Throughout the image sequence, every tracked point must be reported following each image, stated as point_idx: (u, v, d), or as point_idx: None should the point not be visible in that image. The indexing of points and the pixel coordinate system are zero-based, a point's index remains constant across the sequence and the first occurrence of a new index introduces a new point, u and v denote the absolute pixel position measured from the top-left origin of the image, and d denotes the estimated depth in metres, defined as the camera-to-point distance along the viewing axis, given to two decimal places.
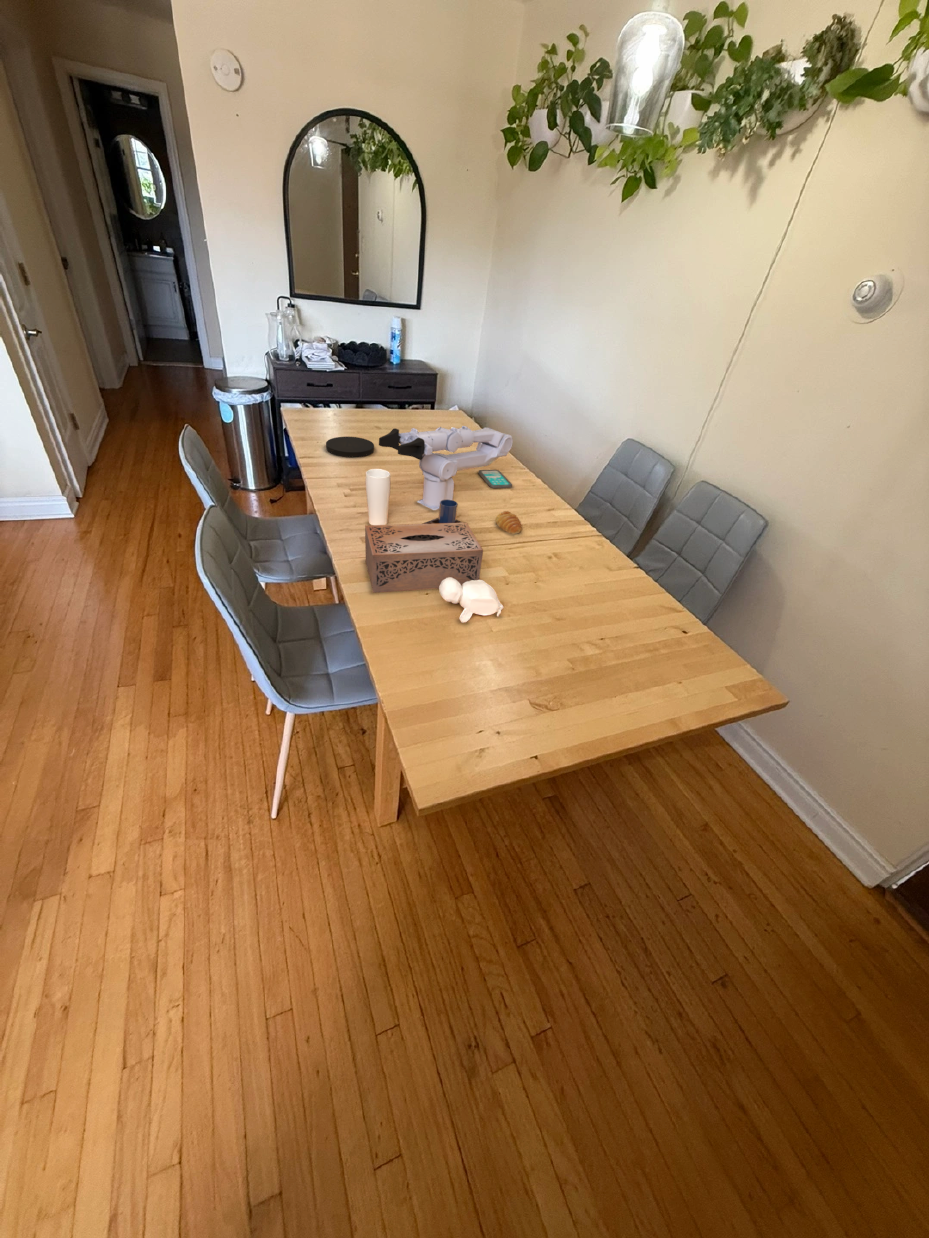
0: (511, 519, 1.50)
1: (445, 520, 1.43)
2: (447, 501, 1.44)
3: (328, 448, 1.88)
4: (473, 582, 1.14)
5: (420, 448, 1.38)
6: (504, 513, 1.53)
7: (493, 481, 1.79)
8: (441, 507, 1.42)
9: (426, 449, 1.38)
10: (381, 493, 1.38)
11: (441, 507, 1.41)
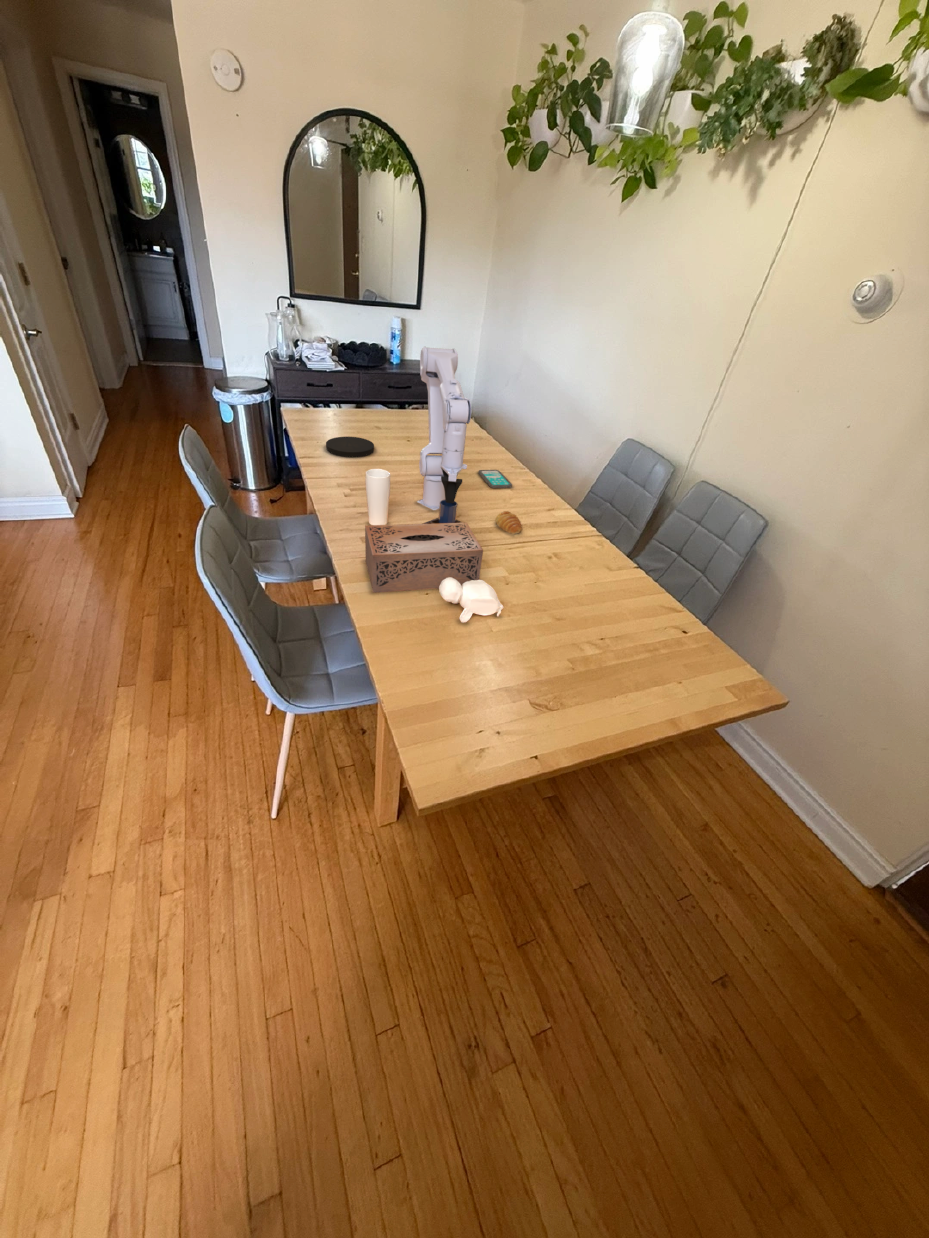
0: (511, 519, 1.50)
1: (445, 520, 1.43)
2: None
3: (328, 448, 1.88)
4: (473, 581, 1.14)
5: None
6: (504, 513, 1.53)
7: (493, 481, 1.79)
8: (441, 507, 1.42)
9: None
10: (381, 493, 1.38)
11: (441, 507, 1.41)
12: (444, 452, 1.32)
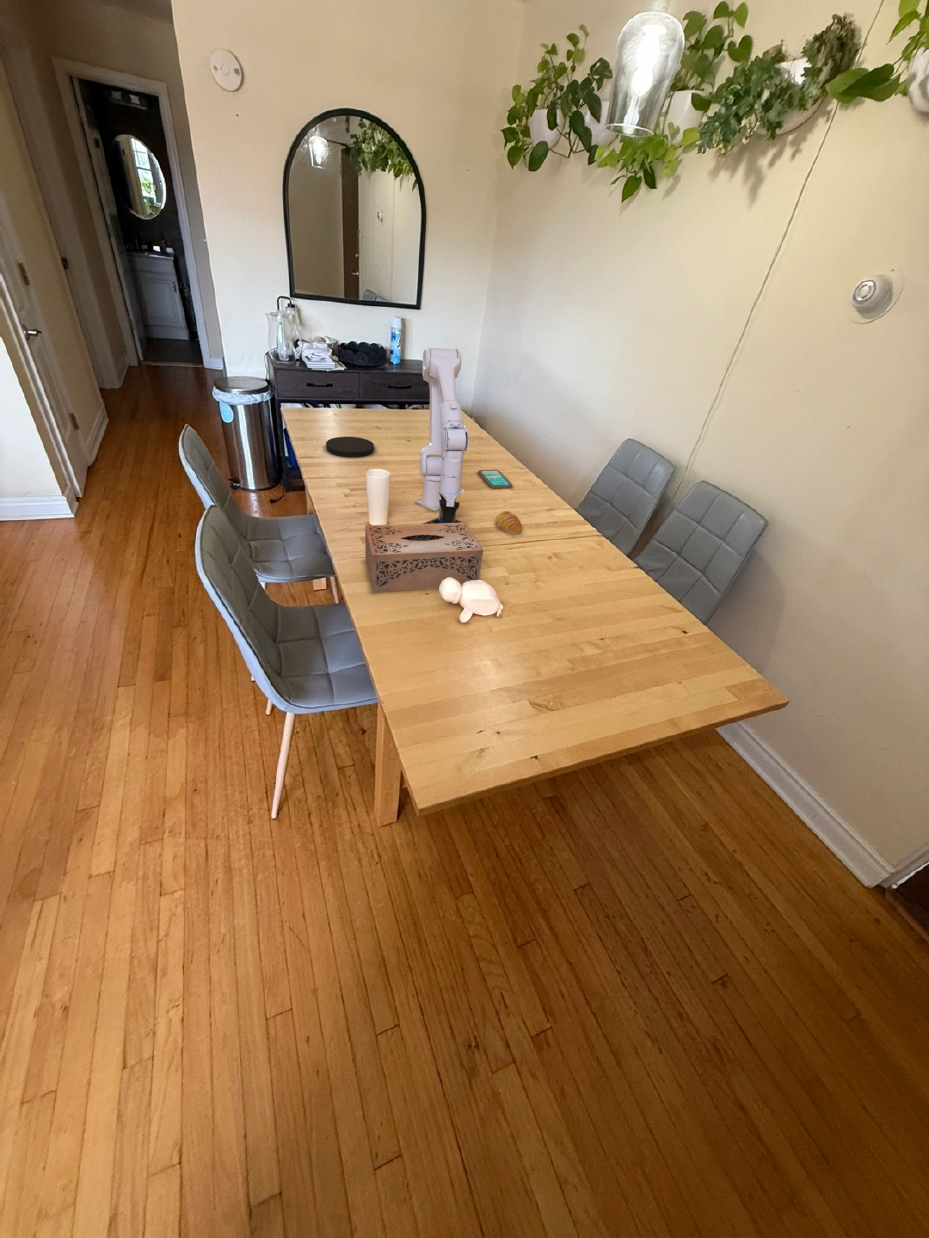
0: (511, 519, 1.50)
1: None
2: None
3: (328, 448, 1.88)
4: (473, 582, 1.14)
5: None
6: (504, 513, 1.53)
7: (493, 481, 1.79)
8: None
9: None
10: (381, 493, 1.38)
11: None
12: (442, 478, 1.36)
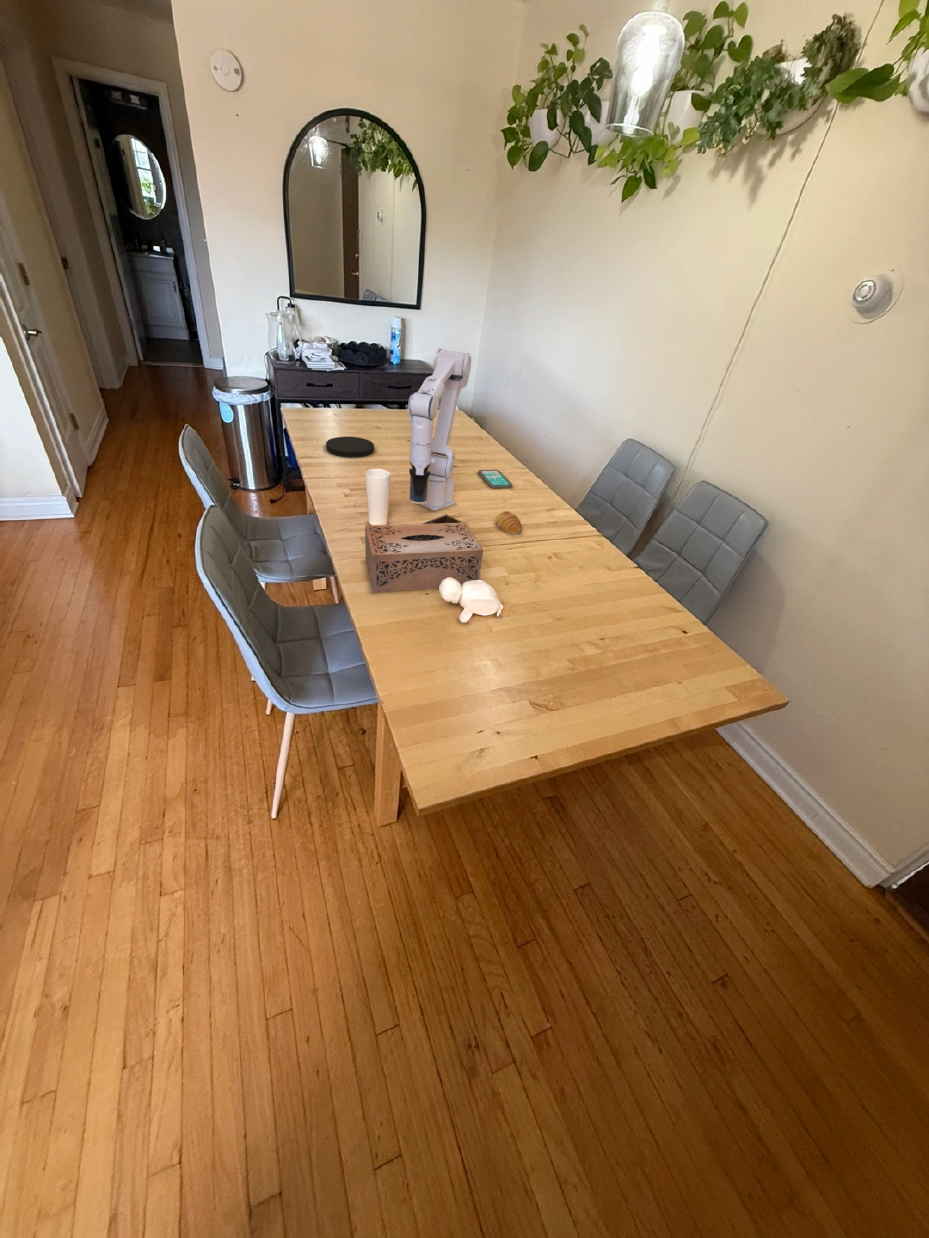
0: (511, 519, 1.50)
1: None
2: None
3: (328, 448, 1.88)
4: (473, 582, 1.14)
5: None
6: (504, 513, 1.53)
7: (493, 481, 1.79)
8: None
9: None
10: (381, 493, 1.38)
11: None
12: (412, 446, 1.34)
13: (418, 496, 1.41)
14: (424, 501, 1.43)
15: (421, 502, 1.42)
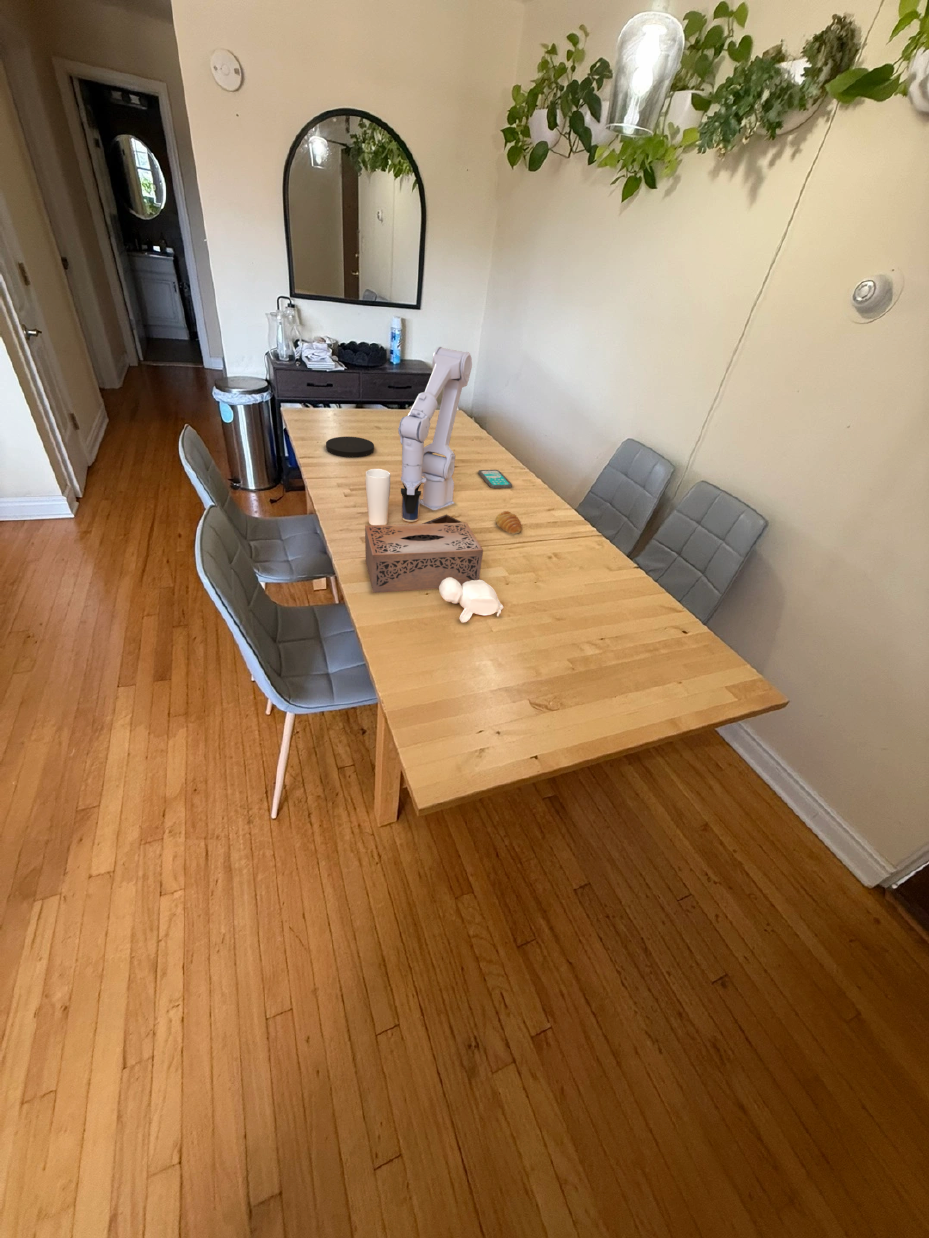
0: (511, 519, 1.50)
1: None
2: None
3: (328, 448, 1.88)
4: (473, 582, 1.14)
5: None
6: (504, 513, 1.53)
7: (493, 481, 1.79)
8: None
9: None
10: (381, 493, 1.38)
11: None
12: (403, 467, 1.38)
13: (410, 514, 1.45)
14: (415, 519, 1.47)
15: (413, 520, 1.46)
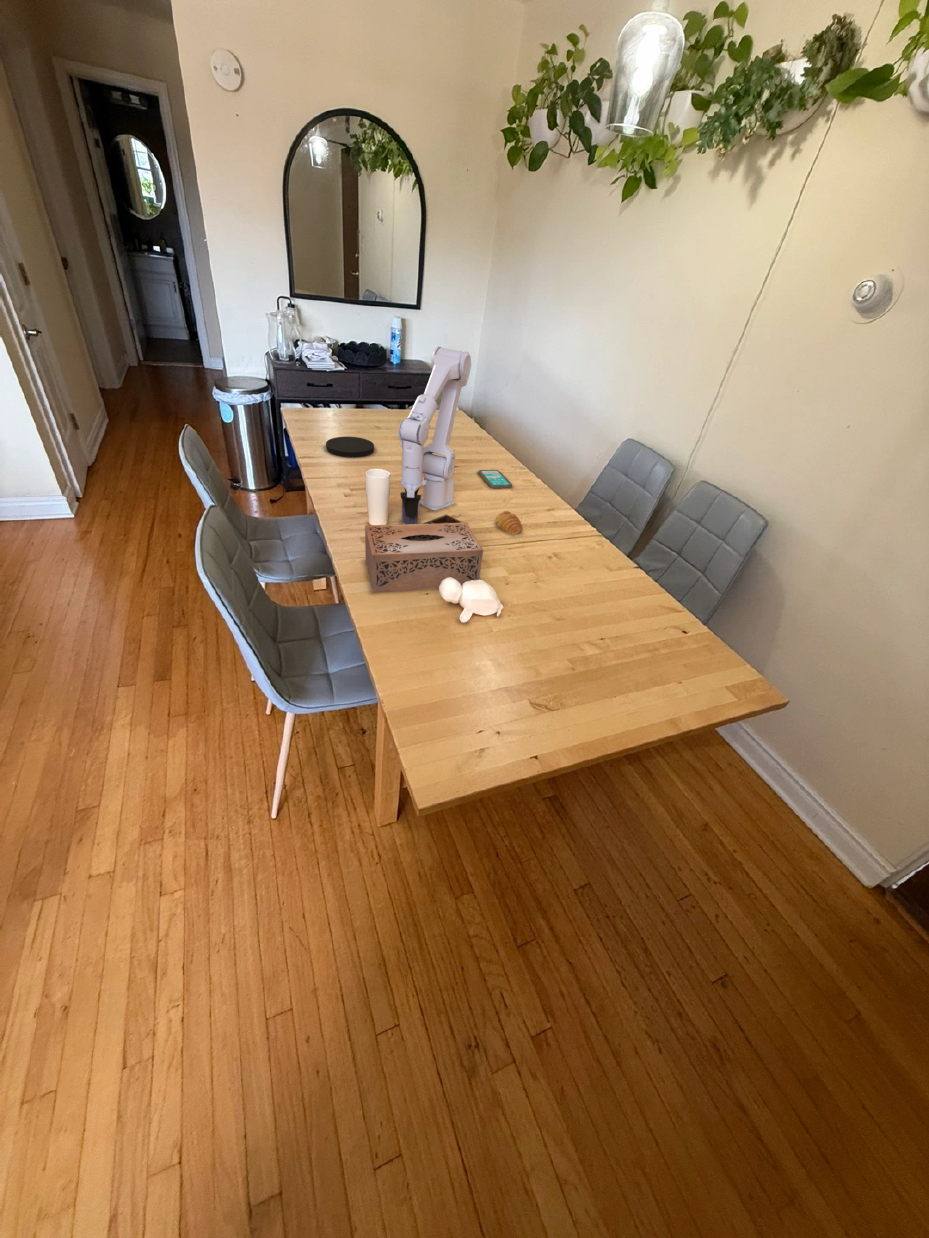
0: (511, 519, 1.50)
1: None
2: None
3: (328, 448, 1.88)
4: (473, 581, 1.14)
5: None
6: (504, 513, 1.53)
7: (493, 481, 1.79)
8: None
9: None
10: (381, 493, 1.38)
11: None
12: (403, 469, 1.38)
13: (409, 519, 1.46)
14: (415, 523, 1.48)
15: None
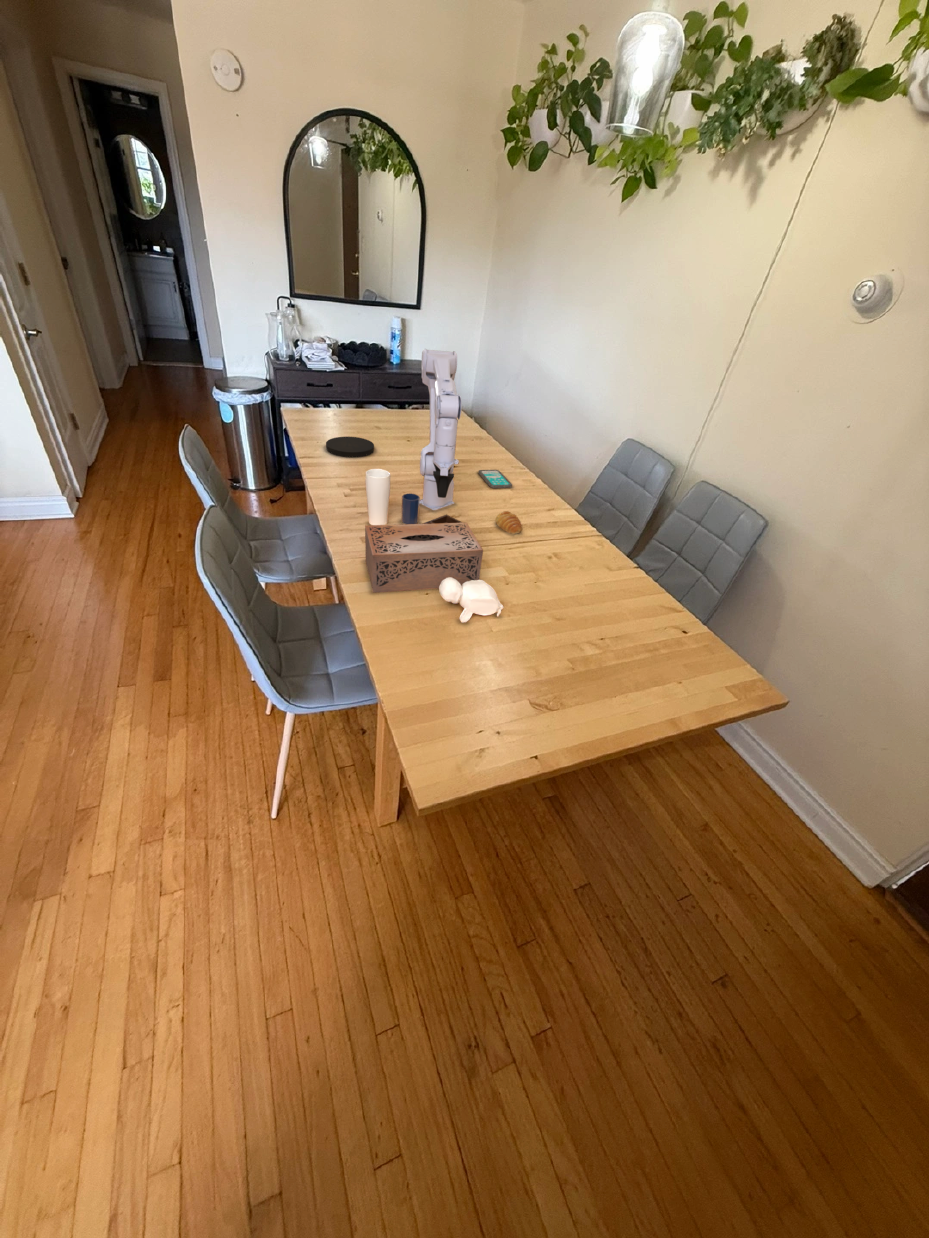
0: (511, 519, 1.50)
1: (407, 514, 1.45)
2: (410, 495, 1.46)
3: (328, 448, 1.88)
4: (473, 581, 1.14)
5: None
6: (504, 513, 1.53)
7: (493, 481, 1.79)
8: (403, 501, 1.44)
9: None
10: (381, 493, 1.38)
11: (403, 500, 1.43)
12: (436, 447, 1.35)
13: (409, 519, 1.46)
14: (415, 523, 1.48)
15: None
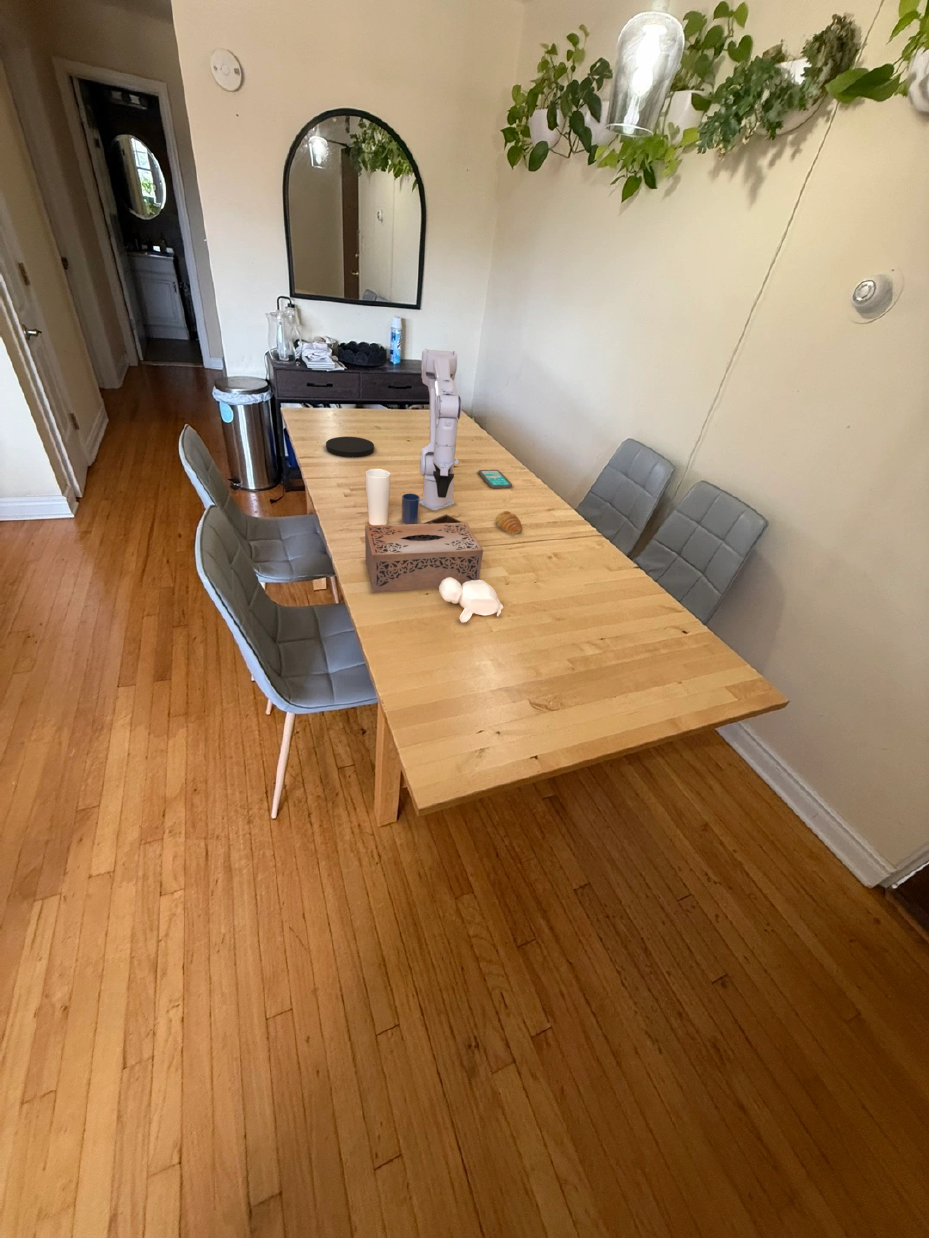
0: (511, 519, 1.50)
1: (407, 514, 1.45)
2: (410, 495, 1.46)
3: (328, 448, 1.88)
4: (473, 581, 1.14)
5: None
6: (504, 513, 1.53)
7: (493, 481, 1.79)
8: (403, 501, 1.44)
9: None
10: (381, 493, 1.38)
11: (403, 500, 1.43)
12: (436, 447, 1.35)
13: (409, 519, 1.46)
14: (415, 523, 1.48)
15: None
